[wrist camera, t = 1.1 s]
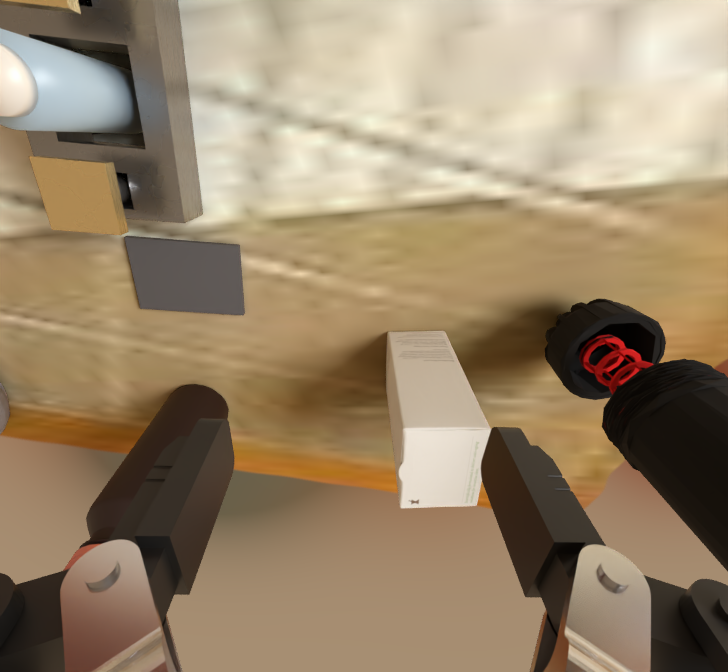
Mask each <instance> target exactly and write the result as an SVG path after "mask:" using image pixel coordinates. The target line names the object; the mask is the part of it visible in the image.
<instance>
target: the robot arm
mask: <svg viewBox="0 0 728 672" xmlns="http://www.w3.org/2000/svg"><path fill="white" fill-rule="evenodd" d="M233 468H234V451H233V445H232V439H231V433H230V427H229V422H228V420H227V419H205V418H201V419H199V420H198V421H197V423H196V425H195V426H194V428H193V430H192V432H191V434H190V436H179V437H177V438H176V439H175V440H174V441H173V442H172V443H170V444H169V445H168V446H167V447H166V448H165V449H163V451H162V453H161V454H160V456H159V457H158V459H157V461H156V462H155V464H154V467H153V469H151V471H150V472H149V474H148V476H147V477H146V479H145V483H143V484H142V485H141V487H140V489H139V490H138V492H137V494H136V495H135V497H134V499H133V500H132V502H131V504H130V505H129V507H128V508H127V510H126V512H125V513H124V515H123V517H122V518H121V520H120V522H119V523H118V525H117V527H116V528H115V530H114V531H113V533H112V535H111V536H110V538H109V539H108V540H107V541H106V543H103V544H101V545H98V546H96V547H95V548H93V549H91V550H90V551H88V552H87V553H85V554H84V555H83V556H82V557H81V558H79V559H78V560H77V561H76V562H75V563H74V565H73V566H72V567H71V568H70V569H67V570H64V571H61V572H58V573H55V574H52V575H48V576H44V577H41V578H38V579H34V580H31V581H28V582H24V583H20V584H17V585H15V583H14V582H13V581H12V580H11V578H10V577H9V576H7V575H5V574H2V573H0V672H183V671H182V668H181V664H180V660H179V657H178V653H177V650H176V646H175V643H174V639H173V636H172V632H171V628H170V625H169V621H168V617H167V611H168V609H169V606H170V603H171V601H172V598H173V596H174V594H190V591H191V588H192V585H193V583H194V580H195V577H196V574H197V572H198V569H199V566H200V563H201V560H202V558H203V555H204V552H205V549H206V546H207V543H208V541H209V538H210V535H211V533H212V530H213V527H214V524H215V521H216V519H217V516H218V513H219V510H220V507H221V505H222V502H223V499H224V496H225V493H226V491H227V488H228V485H229V482H230V480H231V477H232V473H233ZM481 477H482V482H483V485H484V487H485V490H486V493H487V495H488V498H489V501H490V503H491V506H492V509H493V511H494V514H495V517H496V519H497V522H498V525H499V528H500V530H501V533H502V536H503V538H504V541H505V544H506V546H507V549H508V552H509V554H510V557H511V560H512V562H513V565H514V568H515V571H516V573H517V576H518V579H519V581H520V584H521V587H522V589H523V592H524V595H525V597H541V598H542V600H543V602H544V605H545V608H546V610H545V612H544V615H543V618H542V622H541V626H540V630H539V635H538V639H537V643H536V647H535V651H534V655H533V659H532V663H531V668H530V672H728V586H727V585H725V584H723V583H721V582H717V581H714V580H710V579H700V580H697V581H695V582H694V583H693V584H692V585H691V586H690V587H689V589H688V590H687V589H684V588H681V587H678V586H675V585H672V584H668V583H665V582H662V581H659V580H656V579H653V578H650V577H647V576H645V575H643V574H642V573H641V572H640V570H639V569H638V568H637V567H636V566H635V565H634V564H633V563H632V562H631V561H630V560H629V559H628V558H626V557H625V556H624V555H622V554H621V553H619V552H617V551H615V550H613V549H611V548H609V547H607V546H606V545H605V544H604V542H603V541H602V539H601V538H600V536H599V534H598V532H597V531H596V529H595V528H594V526H593V524H592V523H591V521H590V519H589V518H588V516H587V515H586V513H585V511H584V510H583V508H582V506H581V505H580V503H579V502H578V500H577V498H576V497H575V495H574V493H573V492H572V491H570V487H569V485H568V484H567V482H566V480H565V479H564V478H562V474H561V472H560V471H559V469H558V467H557V466H556V464H555V462H554V461H553V459H552V458H551V457H549V456H548V455H547V454H546V453H545V452H544V451H543V450H542V449H541V448H540V447H538V446H531V445H530V444H529V442H528V440H527V438H526V437H525V435H524V433H523V432H522V430H521V429H520V428H510V427H493V428H492V430H491V432H490V435H489V438H488V441H487V445H486V448H485V451H484V454H483V458H482V461H481Z"/></svg>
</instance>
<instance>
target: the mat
mask: <svg viewBox="0 0 728 672" xmlns="http://www.w3.org/2000/svg"><path fill="white" fill-rule="evenodd" d="M124 238H125V242H126V247H127V251H128V256H129V260H130V265H131V269H132V273H133V278H134V282H135V287H136V291H137V296H138V300H139V305H140V309H155V310H170V311H185V312H200V313H215V314H231V315H244V314H245V310H244V296H243V283H242V270H241V257H240V245H236V244H223V243H211V242H198V241H185V240H173V239H160V238H147V237H135V236H126V237H124Z"/></svg>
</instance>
